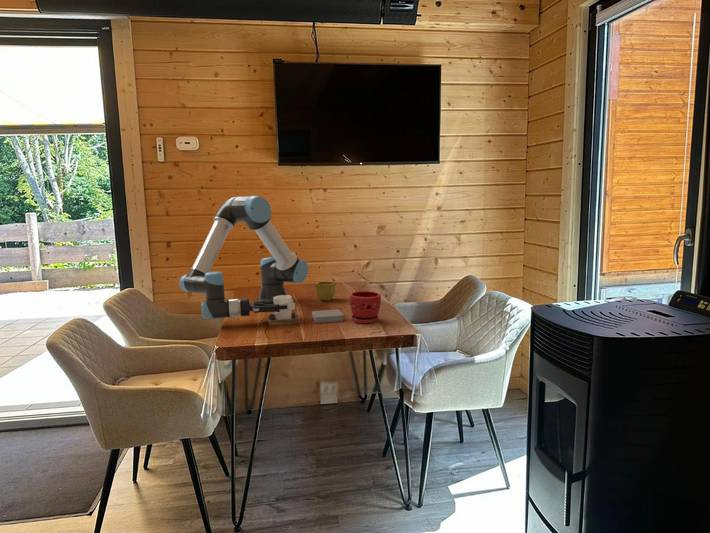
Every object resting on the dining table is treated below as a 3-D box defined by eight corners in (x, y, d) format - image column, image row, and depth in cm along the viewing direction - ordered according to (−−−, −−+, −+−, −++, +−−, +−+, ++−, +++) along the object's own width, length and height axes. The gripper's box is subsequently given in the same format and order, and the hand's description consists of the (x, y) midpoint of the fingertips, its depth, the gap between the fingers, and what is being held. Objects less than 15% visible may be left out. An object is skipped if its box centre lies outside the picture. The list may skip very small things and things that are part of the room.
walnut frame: (267, 318, 213) (267, 314, 213) (297, 316, 216) (296, 312, 215) (268, 325, 200) (268, 321, 200) (300, 323, 203) (299, 318, 203)
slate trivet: (312, 316, 215) (312, 311, 214) (338, 314, 217) (338, 309, 217) (315, 323, 203) (315, 317, 203) (343, 321, 206) (343, 315, 205)
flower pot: (315, 301, 249) (315, 284, 248) (320, 297, 257) (320, 281, 256) (331, 301, 247) (331, 284, 246) (336, 298, 255) (336, 281, 254)
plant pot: (348, 324, 199) (347, 296, 197) (352, 317, 212) (352, 290, 210) (379, 325, 197) (379, 296, 196) (382, 317, 210) (381, 290, 209)
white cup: (295, 317, 211) (294, 295, 209) (288, 322, 203) (287, 299, 202) (278, 317, 213) (277, 294, 212) (271, 321, 205) (270, 298, 204)
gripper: (240, 311, 214) (292, 307, 219) (240, 322, 194) (296, 317, 199) (239, 294, 213) (291, 291, 218) (238, 303, 193) (296, 300, 198)
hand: (294, 304), depth 208 cm, fingers closed on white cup, 7 cm apart
